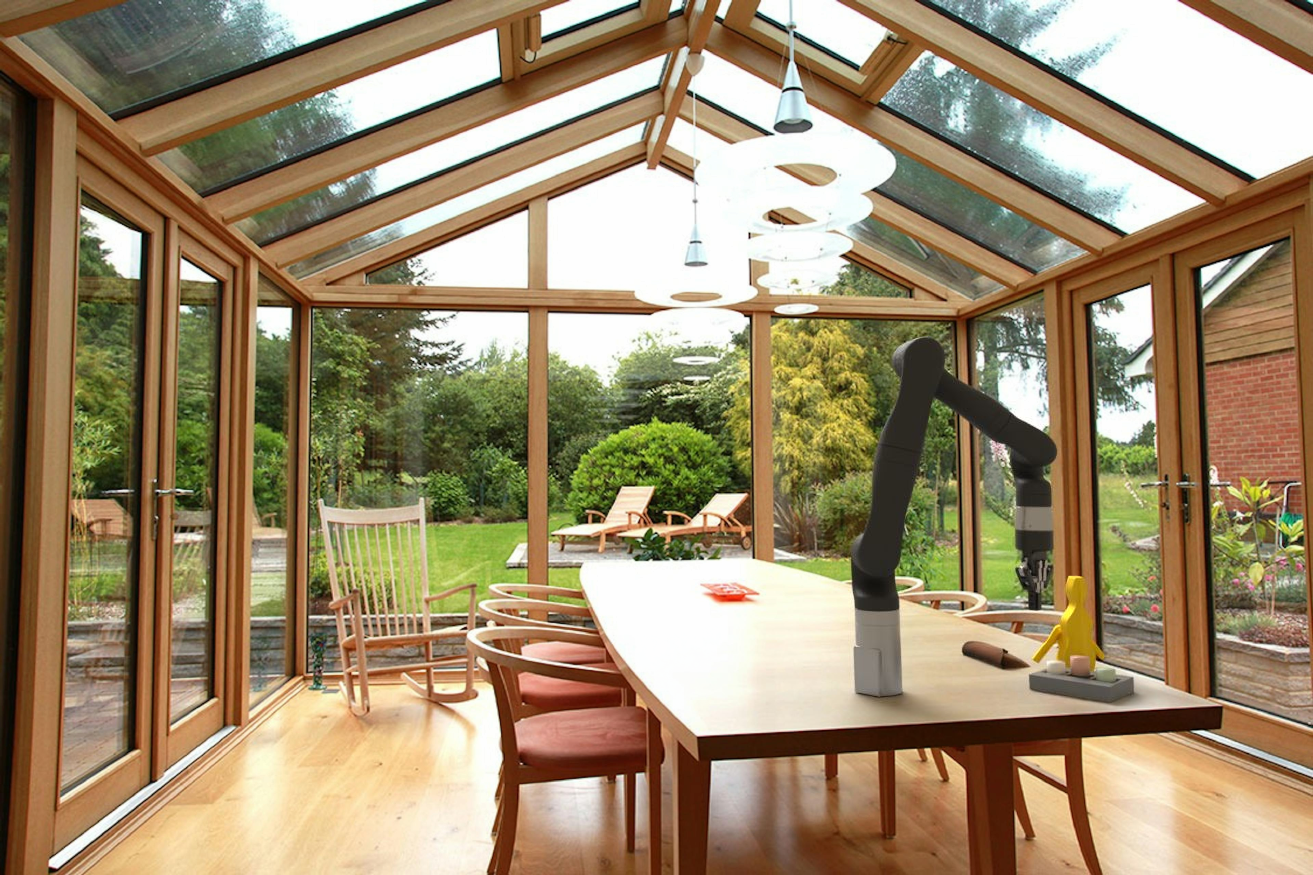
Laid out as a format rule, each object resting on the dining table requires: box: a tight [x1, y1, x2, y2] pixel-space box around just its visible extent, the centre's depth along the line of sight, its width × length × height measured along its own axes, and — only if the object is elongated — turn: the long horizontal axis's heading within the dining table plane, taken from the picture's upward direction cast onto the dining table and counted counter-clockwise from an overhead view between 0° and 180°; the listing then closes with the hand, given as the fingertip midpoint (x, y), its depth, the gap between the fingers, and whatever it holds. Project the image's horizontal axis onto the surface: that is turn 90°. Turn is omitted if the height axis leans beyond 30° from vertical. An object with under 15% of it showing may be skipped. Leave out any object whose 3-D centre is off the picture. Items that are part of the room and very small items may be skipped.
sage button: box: [1094, 666, 1116, 683], centre depth 174 cm, size 4×4×4 cm
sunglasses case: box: [961, 640, 1032, 670], centre depth 209 cm, size 18×7×7 cm
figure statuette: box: [1031, 575, 1106, 671], centre depth 193 cm, size 18×8×22 cm, turn 99°
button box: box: [1028, 667, 1135, 703], centre depth 178 cm, size 12×16×3 cm
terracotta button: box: [1070, 655, 1090, 676], centre depth 178 cm, size 4×4×4 cm
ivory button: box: [1046, 659, 1066, 675], centre depth 182 cm, size 4×4×4 cm
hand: (1035, 609), depth 183 cm, fingers closed
